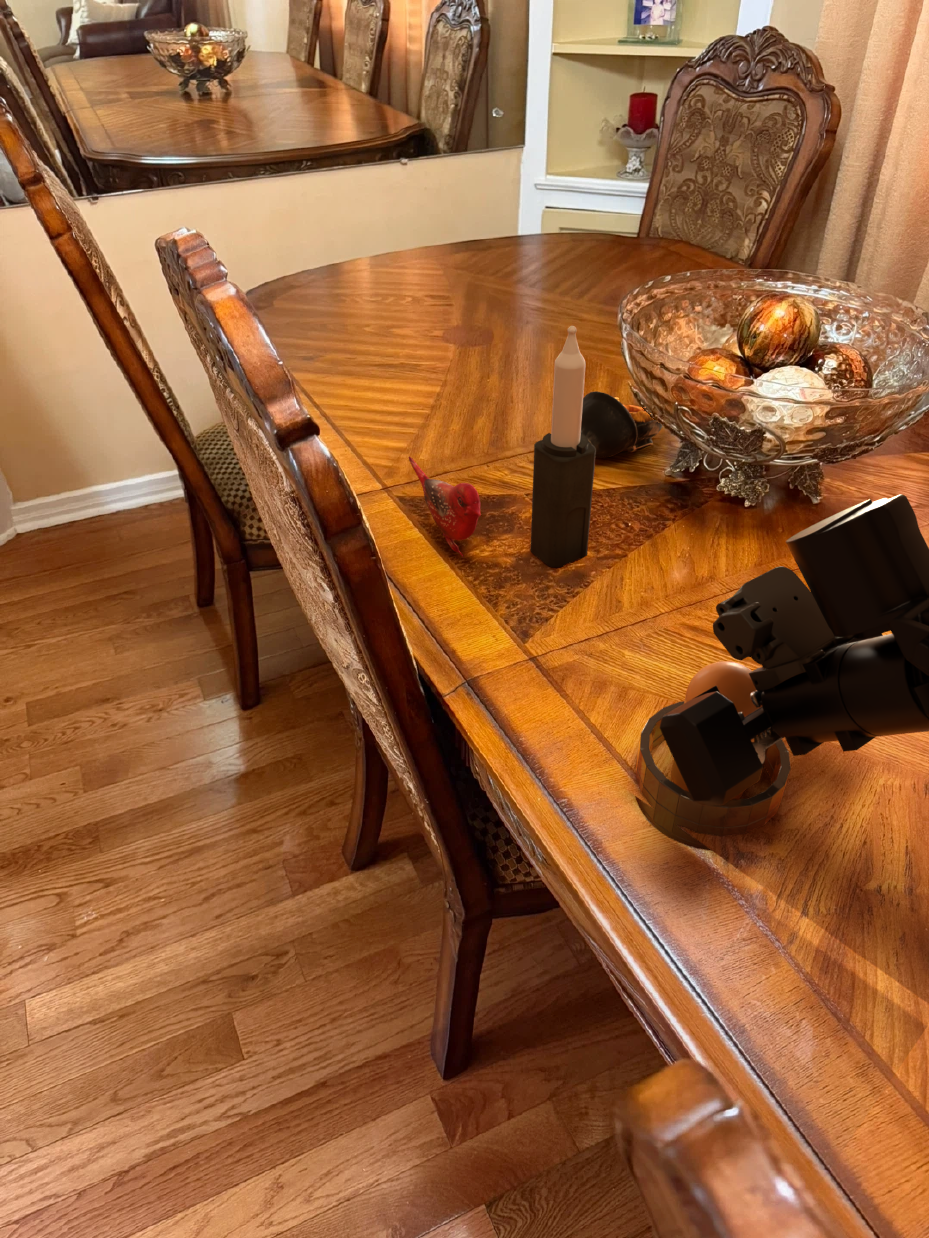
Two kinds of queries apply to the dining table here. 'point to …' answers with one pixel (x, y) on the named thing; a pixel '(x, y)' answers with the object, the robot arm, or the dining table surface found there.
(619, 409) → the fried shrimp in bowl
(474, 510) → the decorative bird figurine
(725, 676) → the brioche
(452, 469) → the dining table surface
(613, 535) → the dining table surface
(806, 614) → the robot arm
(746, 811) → the brown ring
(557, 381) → the candle
